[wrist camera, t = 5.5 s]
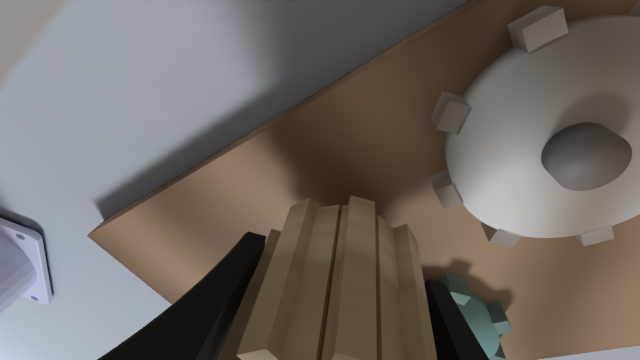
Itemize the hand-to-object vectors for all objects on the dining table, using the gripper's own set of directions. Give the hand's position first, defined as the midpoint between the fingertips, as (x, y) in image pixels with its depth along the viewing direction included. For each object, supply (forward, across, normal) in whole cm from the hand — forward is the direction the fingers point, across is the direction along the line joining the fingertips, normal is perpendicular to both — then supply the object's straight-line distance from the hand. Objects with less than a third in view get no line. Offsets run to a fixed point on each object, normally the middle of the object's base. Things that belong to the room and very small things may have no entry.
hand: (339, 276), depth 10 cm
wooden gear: (+1, 0, 0) cm, 1 cm away
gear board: (+4, -3, +3) cm, 6 cm away
